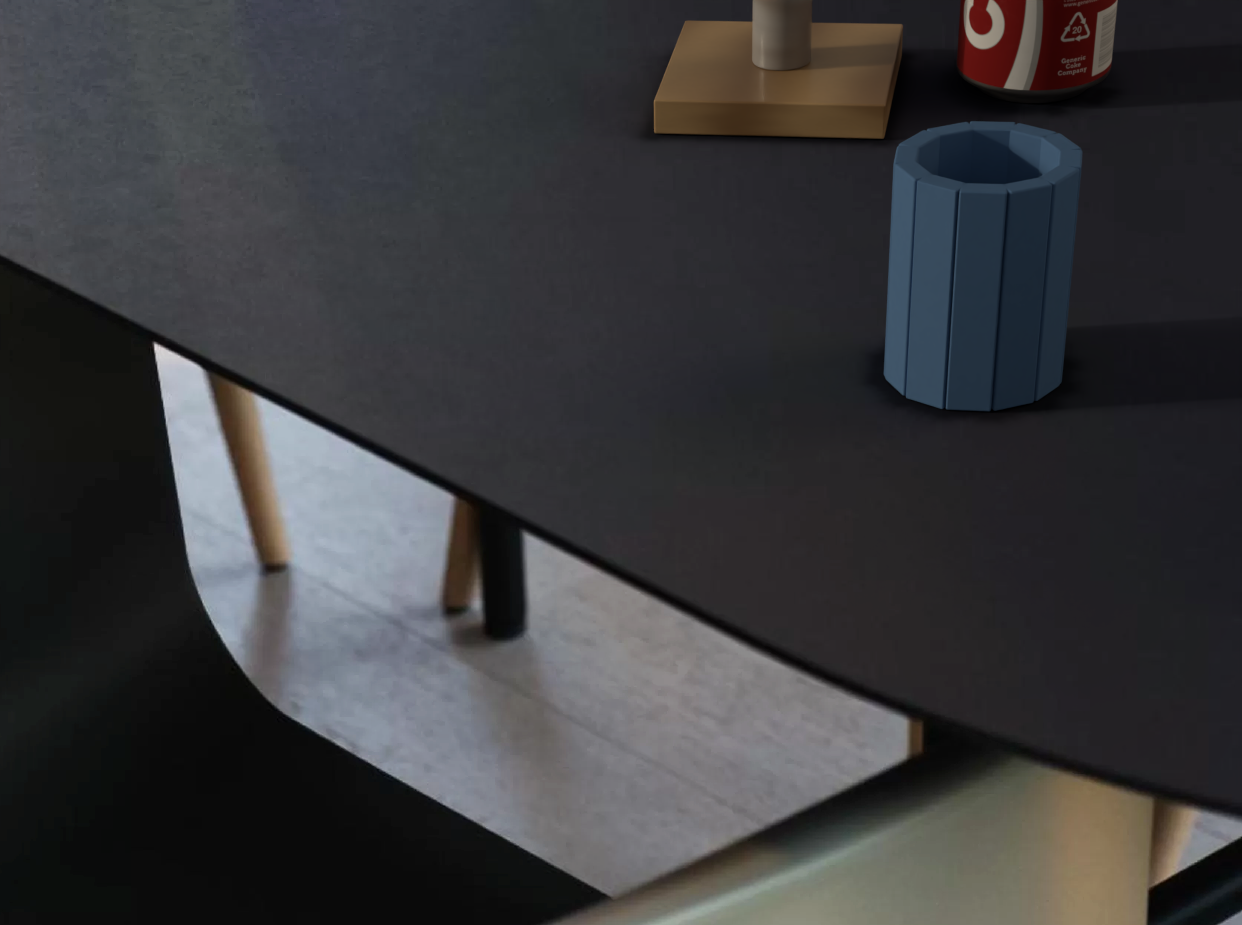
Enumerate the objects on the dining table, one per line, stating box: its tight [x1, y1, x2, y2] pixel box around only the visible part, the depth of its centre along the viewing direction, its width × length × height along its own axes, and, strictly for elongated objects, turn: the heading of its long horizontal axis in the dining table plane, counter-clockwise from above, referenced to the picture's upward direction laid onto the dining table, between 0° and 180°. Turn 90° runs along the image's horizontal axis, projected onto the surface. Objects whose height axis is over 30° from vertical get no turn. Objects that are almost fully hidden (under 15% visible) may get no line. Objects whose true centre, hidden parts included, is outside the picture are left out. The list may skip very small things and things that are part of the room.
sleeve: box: [883, 120, 1083, 412], centre depth 95 cm, size 6×6×8 cm
